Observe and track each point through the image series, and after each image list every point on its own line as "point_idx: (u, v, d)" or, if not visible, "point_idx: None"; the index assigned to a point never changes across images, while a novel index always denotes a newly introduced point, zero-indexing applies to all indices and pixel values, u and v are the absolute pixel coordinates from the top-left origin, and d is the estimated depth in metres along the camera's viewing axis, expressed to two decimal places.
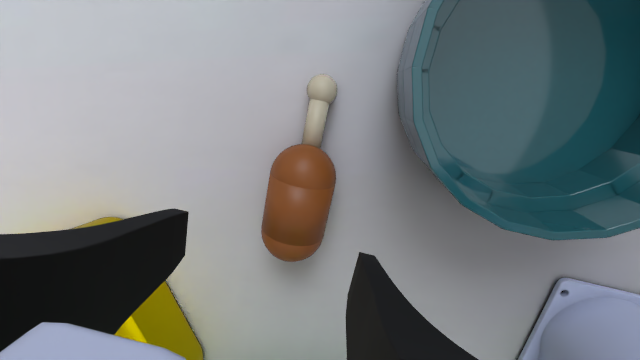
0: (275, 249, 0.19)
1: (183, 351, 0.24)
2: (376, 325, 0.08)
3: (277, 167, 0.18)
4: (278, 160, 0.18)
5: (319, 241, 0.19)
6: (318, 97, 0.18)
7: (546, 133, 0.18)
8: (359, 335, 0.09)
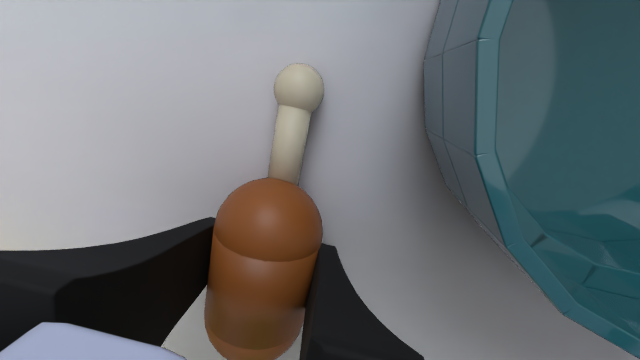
0: (223, 352, 0.11)
1: None
2: (313, 310, 0.08)
3: (221, 221, 0.10)
4: (224, 208, 0.11)
5: (296, 333, 0.12)
6: (291, 101, 0.11)
7: None
8: (308, 322, 0.09)
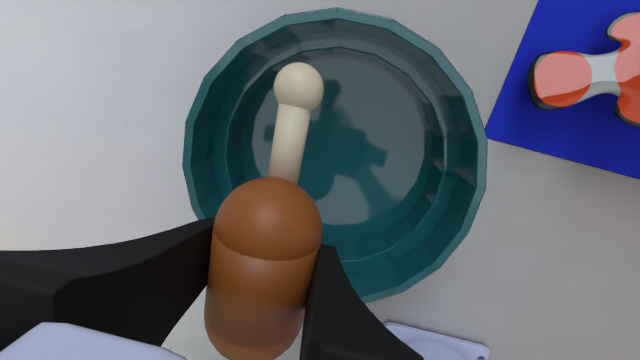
0: (222, 351, 0.11)
1: None
2: (313, 310, 0.08)
3: (221, 219, 0.10)
4: (224, 207, 0.11)
5: (296, 332, 0.12)
6: (291, 101, 0.11)
7: (352, 201, 0.21)
8: (308, 322, 0.09)
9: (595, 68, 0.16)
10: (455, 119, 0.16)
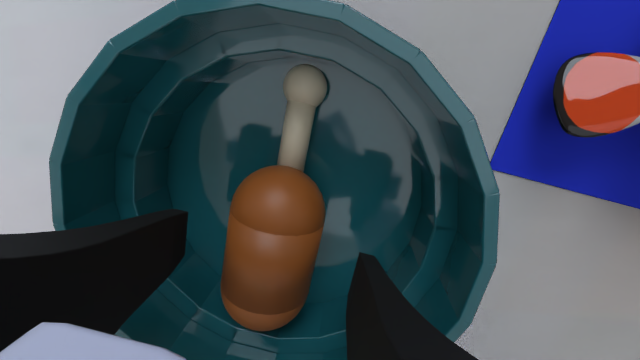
0: (237, 317, 0.13)
1: None
2: (376, 325, 0.08)
3: (238, 201, 0.12)
4: (240, 190, 0.12)
5: (302, 303, 0.13)
6: (298, 97, 0.12)
7: None
8: (359, 335, 0.09)
9: None
10: (450, 153, 0.11)
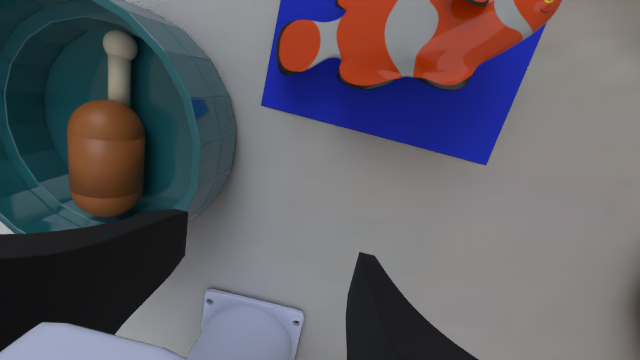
0: (78, 202, 0.19)
1: None
2: (376, 325, 0.08)
3: (69, 120, 0.18)
4: (72, 114, 0.18)
5: (129, 195, 0.20)
6: (112, 51, 0.18)
7: (153, 170, 0.22)
8: (359, 335, 0.09)
9: (323, 34, 0.17)
10: None
